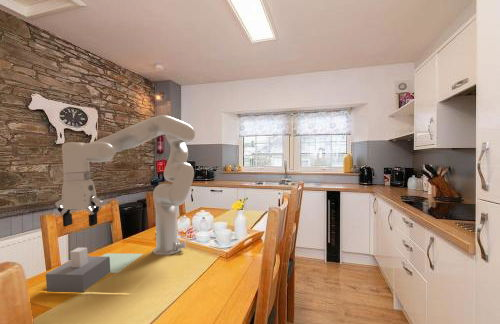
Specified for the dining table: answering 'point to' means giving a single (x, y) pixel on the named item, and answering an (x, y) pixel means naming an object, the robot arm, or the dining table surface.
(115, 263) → the sage mat
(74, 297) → the dining table surface
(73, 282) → the cover
